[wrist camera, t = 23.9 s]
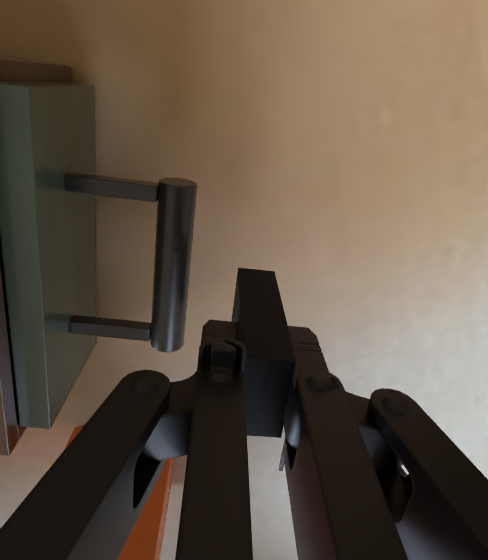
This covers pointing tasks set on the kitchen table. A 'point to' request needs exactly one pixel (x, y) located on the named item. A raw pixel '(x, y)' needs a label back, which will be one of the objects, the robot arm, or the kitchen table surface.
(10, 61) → the cabinet
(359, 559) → the robot arm
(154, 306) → the drawer
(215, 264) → the kitchen table surface
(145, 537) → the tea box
